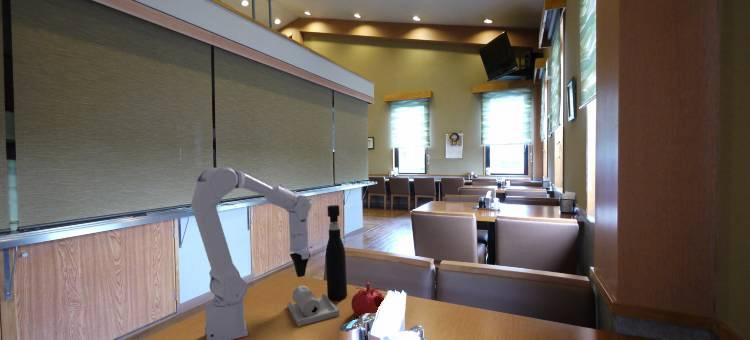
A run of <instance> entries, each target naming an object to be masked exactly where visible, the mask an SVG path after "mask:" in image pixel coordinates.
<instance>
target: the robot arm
mask: <svg viewBox="0 0 750 340" xmlns="http://www.w3.org/2000/svg"><path fill="white" fill-rule="evenodd" d="M285 187H286V186H285V185H284V184H280V183H279V184H274V185H272V186H270V185H269V184H266V183H264V182H263V181H261V180H259V179H257V178H255V177H252V176H250V175H248V174H247V173H245V172H242V171H240V170H236V169H233V168H231V167H229V166H223V167H208V168H204V170H203V171H202V172H201V173H200V174H199V175H198V176H197V178H196V180H195V189H194V191H193V192H194V193H193V196H192V199H191V203H190V205H191V210H192V212H193V215H194V218H195V222H196V226H197V228H198V232H199V234H200V237H201V241H202V243H203V244H202V245H203V247H204V250H205V253H206V257H207V259H208V263H209V267H210V270H209V277H210V281H209V290H210V292H211V293H212V294H213V295H214V297H213V302H210V303H207V304H205V307H204V310H205V311H204V312H205V313H204V315H205V326H204V334H205V336H206V340H236V339H240V338H243V337H247V336H248V335H249V332H248V328H247V323H246V320H245V301H244V297H245V296H246V294H247V292H248V284H247V282H246V281H245V279H243V278H242V276H241V275H240V272H239V270H238V268H237V267H236V265H235V264H234V263H233V259H232V255H231V252H230V250H229V246H228V243H227V239H226V236H225V233H224V228H223V225H222V223H221V220H220V219H221V218H220V216H219V213H218V209H217V206H218V205H219V203H220V202H221V200H222V199H223V198H224V197H226V196H227V195H228V194H229V193H231V192H232V191H233V190H234V189H245V190H247V191H250V192H253V193H255V194H257V195H260V196H264V197H265V199H266V202H268V203H269V204H271V205H274V206H277V207H279V208H281V209H284V210H285V211H286V212H288V225H289V251H290V252H292V253H290V254H289V256H290V259H291V260H292V263H293V266H294V270H295V274H296V276H297V278H301V277H305V275H306V270H307V265H308V262H309V259H310V258H311V254H310V252H309V251H310V249H313V245H312V244H309V242H310V241H309V221H308V220H309V219H308V217H309V212H310V210H311V207H312V203H310V200H309V198H308V196H306V195H302V194H300V195H299V194H298V192H297V191H295V190H289V189H287V188H285Z"/></svg>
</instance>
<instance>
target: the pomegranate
mask: <svg viewBox="0 0 750 340" xmlns="http://www.w3.org/2000/svg"><path fill="white" fill-rule="evenodd" d="M370 284H371V283H370V282H366V283H365V286H366V288H361V287H355V289H359V290H358V291H357V292H356V293H355V294H354V295H353V296H352V298H351V301H350V302H351V309H352V311H353V313H354V316H356V317H357V318H358V317H359V316H361V315H362V314H365V313H376V312H377V310H378V307H379V306H380V304H381V302H382V301H383V300H384V298H385V296H384V295H383V294H382V292H380V291H378V290H380V288H379V287H375V288H373V287H371V288H370ZM377 289H378V290H377ZM385 299H386V298H385Z"/></svg>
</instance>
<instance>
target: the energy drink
mask: <svg viewBox="0 0 750 340" xmlns="http://www.w3.org/2000/svg"><path fill="white" fill-rule="evenodd" d="M292 299H293V301H294V302H295V304H297V306H298V307H299V309H300V310H301V312H302V313H303V315H305V316H307V317H310V316H314V315H316V314H317V313H318V312H319V310H320V303H319V301H318V300H317V299H318V298H317V297H316V296H315V294H313V293H312V291H311V290H310V289H309V287H307V286H306V285H299V286H297V287H296V288H295V289H294V290H293V292H292Z"/></svg>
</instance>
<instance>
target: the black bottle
mask: <svg viewBox="0 0 750 340" xmlns="http://www.w3.org/2000/svg"><path fill="white" fill-rule="evenodd" d="M326 210H327V217H329V222H330V223H329V227H328V228H329V229H328V241H327V244H326V249H325V264H326V265H325V268H326V286H327V287H326V289H327V290H326V292H327V297H328V298H329V299H330V301H336V302H337V301H338V302H339V301H342V300H344V299H347V297H348V286H347V285H348V283H347V263H346V262H347V259H346V258H347V257H346V249H345V246H344V243H343V240H342V238H341V229H340V224H339V220H338V218H339V217H340V215H341V214H340V212H341V211H340V205H336V204H331V205H328V206H327V209H326Z"/></svg>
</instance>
